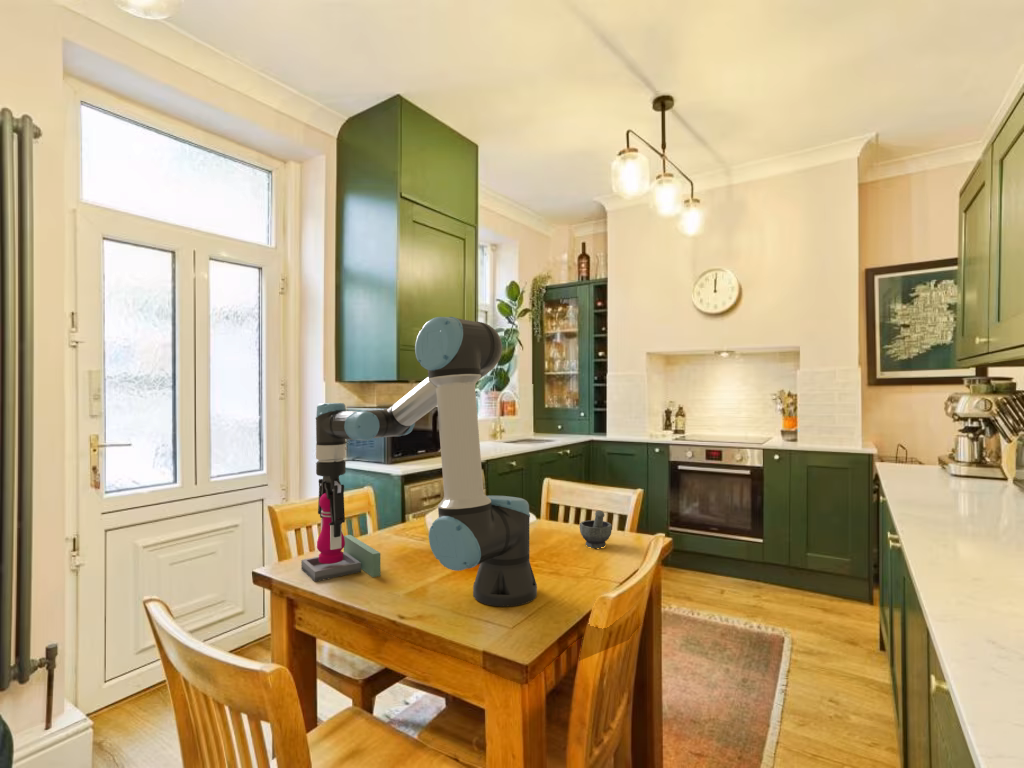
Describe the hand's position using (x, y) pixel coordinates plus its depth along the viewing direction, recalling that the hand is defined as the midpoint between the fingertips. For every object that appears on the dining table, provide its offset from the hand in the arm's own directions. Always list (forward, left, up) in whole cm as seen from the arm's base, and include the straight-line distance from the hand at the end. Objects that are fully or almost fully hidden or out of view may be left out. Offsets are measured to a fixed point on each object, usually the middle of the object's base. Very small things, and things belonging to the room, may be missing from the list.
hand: (330, 545), depth 144 cm
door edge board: (-1, -8, -7) cm, 11 cm away
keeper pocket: (0, 0, -7) cm, 7 cm away
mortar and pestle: (-28, -73, -7) cm, 78 cm away
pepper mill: (0, 0, -4) cm, 4 cm away
